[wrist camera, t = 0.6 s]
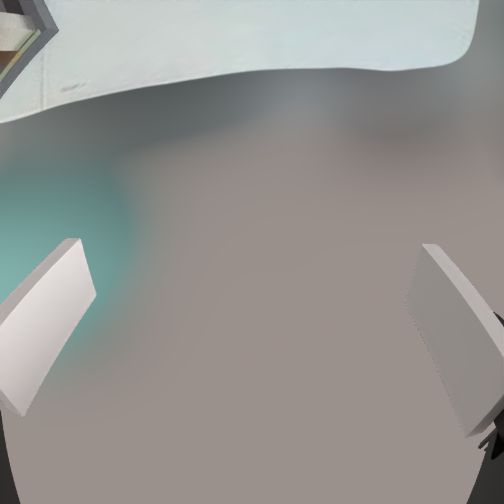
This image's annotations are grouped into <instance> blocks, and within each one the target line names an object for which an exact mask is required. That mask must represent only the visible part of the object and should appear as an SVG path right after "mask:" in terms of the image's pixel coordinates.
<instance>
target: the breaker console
mask: <svg viewBox="0 0 504 504" xmlns="http://www.w3.org/2000/svg"><path fill="white" fill-rule="evenodd" d="M58 31H59V30H58V28H57V26H56V24H55V22H54V20H53V18H52V16H51V14H50V12H49V10H48V8H47V6H46V4H45V2H44V0H0V98H1V97H2V96H3V94H4V93H5V92H6V90H7V89H8V88H9V86H10V85H11V84H12V82H13V81H14V80H15V79H16V77H17V76H18V75H19V74H20V73H21V71H22V70H23V69H24V68H25V67H26V65H27V64H28V63H29V62H30V61H31V60H32V58H33V57H34V56H35V55H36V54H37V53H38V52H39V51H40V50H41V49H42V48H43V46H44V45H45V44H46V43H47V42H48V41H49V40H50V39H51V38H52V37H53V36H54V35H55V34H56V33H57V32H58Z"/></svg>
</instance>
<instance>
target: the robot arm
mask: <svg viewBox="0 0 504 504" xmlns="http://www.w3.org/2000/svg"><path fill="white" fill-rule="evenodd" d="M95 297H96V292H95V288H94V285H93V282H92V279H91V275H90V272H89V268H88V265H87V262H86V258H85V254H84V251H83V247H82V243H81V239H80V238H76V239H74V238H66V239H65V240H64V241H63V242H62V243H61V244H60V245H59V246H57V247H56V248H55V249H54V250H53V251H52V252H51V253H50V254H49V255H48V256H47V257H46V258H45V259H44V260H43V261H42V262H41V263H40V264H39V265H38V266H37V267H36V268H35V269H34V270H33V271H32V272H31V273H30V274H29V275H28V276H27V277H26V278H25V279H24V280H23V281H22V282H21V283H20V284H19V285H18V286H17V287H16V288H15V290H14V291H13V292H12V293H11V294H10V295H9V296H8V297H7V298H6V299H5V301H4V302H3V303H2V304H1V305H0V400H1V402H2V403H3V404H4V405H5V406H6V408H7V409H8V410H10V411H12V412H14V413H16V414H18V415H20V416H23V417H24V415H25V413H26V411H27V409H28V407H29V406H30V404H31V402H32V400H33V398H34V396H35V394H36V392H37V391H38V389H39V387H40V385H41V383H42V382H43V380H44V378H45V376H46V374H47V373H48V371H49V369H50V368H51V366H52V364H53V362H54V361H55V359H56V357H57V356H58V354H59V353H60V351H61V349H62V348H63V346H64V344H65V343H66V341H67V339H68V338H69V336H70V335H71V333H72V332H73V330H74V328H75V327H76V325H77V324H78V322H79V321H80V319H81V317H82V316H83V314H84V313H85V312H86V310H87V309H88V307H89V306H90V304H91V303H92V301H93V300H94V298H95ZM404 303H405V305H406V307H407V309H408V311H409V313H410V315H411V317H412V319H413V321H414V323H415V325H416V326H417V328H418V330H419V332H420V334H421V337H422V339H423V341H424V343H425V345H426V347H427V349H428V351H429V353H430V355H431V357H432V360H433V362H434V364H435V366H436V368H437V370H438V373H439V375H440V377H441V380H442V382H443V384H444V387H445V389H446V391H447V394H448V396H449V398H450V401H451V404H452V406H453V409H454V411H455V414H456V416H457V419H458V422H459V424H460V427H461V430H462V432H463V435H464V438H467V437H470V436H473V435H476V434H479V433H482V432H483V431H484V430H485V429H486V428H487V427H488V426H489V425H490V424H491V423H492V422H493V421H494V423H495V426H496V428H495V429H494V430H493V431H492V432H491V433H490V434H489V435H488V436H487V437H486V438H485V439H484V440H483V441H482V442H481V443H480V445H479V447H478V448H479V449H481V448H482V447H483V446H484V445H485V444H486V443H487V442H488V441H489V443H488V447H486V448H485V449H484V451H486V453H485V456H484V459H483V462H482V465H481V468H480V471H479V474H478V477H477V479H476V482H475V485H474V487H473V490H472V492H471V495H470V497H469V499H468V502H467V504H504V320H503V319H502V318H501V317H500V316H499V315H497V314H496V313H495V312H492V310H491V309H490V307H489V306H488V305H487V303H486V302H485V301H484V300H483V298H482V297H481V296H480V294H479V293H478V292H477V291H476V289H475V288H474V287H473V286H472V284H471V283H470V282H469V281H468V280H467V278H466V277H465V276H464V275H463V274H462V273H461V271H460V270H459V269H458V268H457V266H456V265H455V264H454V263H453V262H452V261H451V260H450V259H449V257H448V256H447V255H446V254H445V253H444V252H443V251H442V249H441V248H440V247H439V246H438V245H435V244H421V247H420V251H419V254H418V258H417V262H416V265H415V269H414V273H413V276H412V279H411V283H410V286H409V289H408V292H407V295H406V298H405V301H404ZM0 504H20V501H19V498H18V494H17V491H16V487H15V483H14V480H13V476H12V472H11V467H10V463H9V458H8V453H7V449H6V443H5V437H4V431H3V424H2V416H1V411H0Z"/></svg>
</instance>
